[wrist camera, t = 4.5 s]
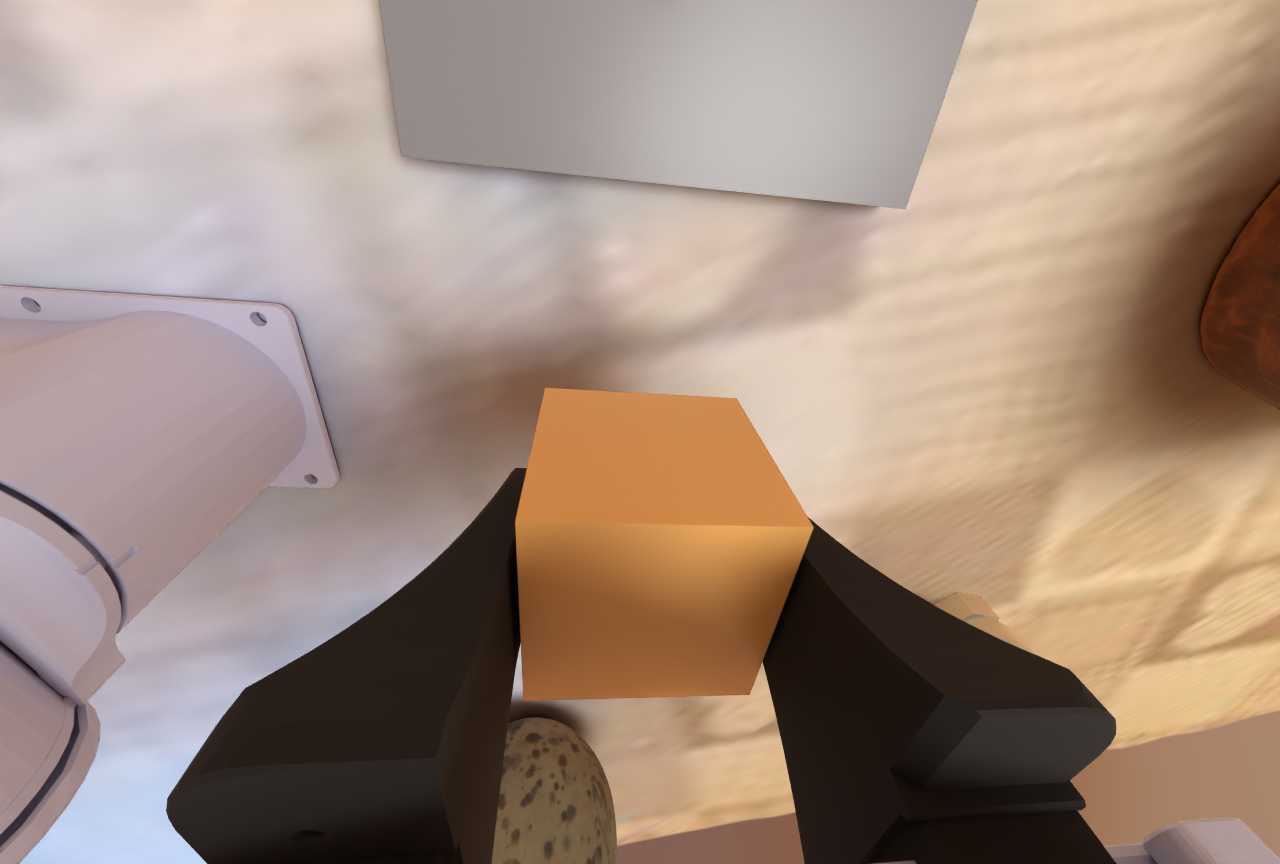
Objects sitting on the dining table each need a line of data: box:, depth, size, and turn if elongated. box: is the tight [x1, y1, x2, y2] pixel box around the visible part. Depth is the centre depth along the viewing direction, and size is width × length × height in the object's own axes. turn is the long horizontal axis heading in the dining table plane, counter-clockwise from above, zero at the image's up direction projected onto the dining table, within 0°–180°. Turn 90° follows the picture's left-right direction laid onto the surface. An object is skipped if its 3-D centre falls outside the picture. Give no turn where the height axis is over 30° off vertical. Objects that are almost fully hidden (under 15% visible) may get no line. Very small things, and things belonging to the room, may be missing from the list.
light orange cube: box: [515, 388, 814, 701], centre depth 11 cm, size 5×5×5 cm
